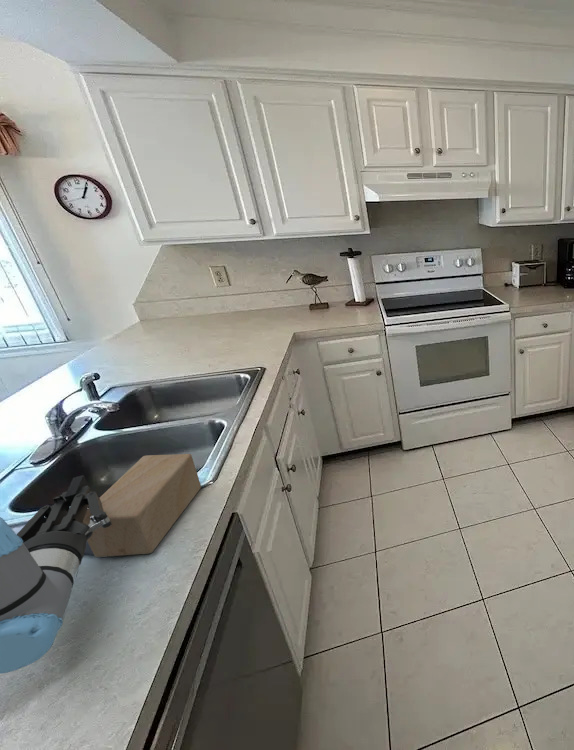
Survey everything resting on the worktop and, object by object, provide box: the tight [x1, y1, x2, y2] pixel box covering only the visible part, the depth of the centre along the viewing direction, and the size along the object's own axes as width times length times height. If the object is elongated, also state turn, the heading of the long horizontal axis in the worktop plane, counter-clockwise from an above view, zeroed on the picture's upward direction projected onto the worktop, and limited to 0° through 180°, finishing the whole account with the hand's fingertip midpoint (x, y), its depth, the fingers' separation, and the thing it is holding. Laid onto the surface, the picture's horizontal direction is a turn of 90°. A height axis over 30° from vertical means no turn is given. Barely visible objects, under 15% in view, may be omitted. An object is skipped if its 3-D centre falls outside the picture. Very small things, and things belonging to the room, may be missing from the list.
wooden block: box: [83, 453, 202, 558], centre depth 87 cm, size 10×10×20 cm
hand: (81, 481), depth 80 cm, fingers closed
